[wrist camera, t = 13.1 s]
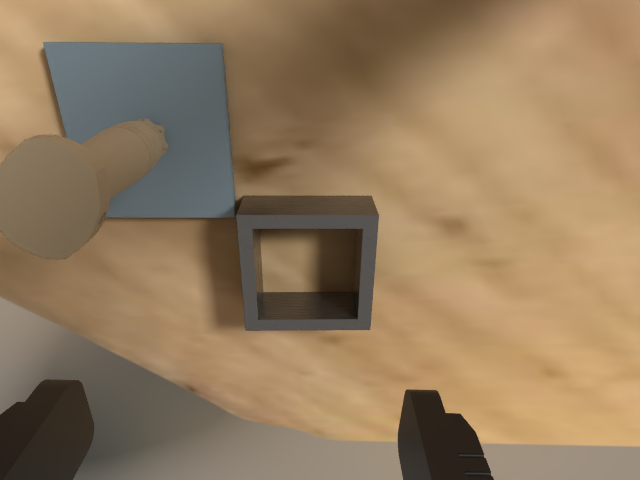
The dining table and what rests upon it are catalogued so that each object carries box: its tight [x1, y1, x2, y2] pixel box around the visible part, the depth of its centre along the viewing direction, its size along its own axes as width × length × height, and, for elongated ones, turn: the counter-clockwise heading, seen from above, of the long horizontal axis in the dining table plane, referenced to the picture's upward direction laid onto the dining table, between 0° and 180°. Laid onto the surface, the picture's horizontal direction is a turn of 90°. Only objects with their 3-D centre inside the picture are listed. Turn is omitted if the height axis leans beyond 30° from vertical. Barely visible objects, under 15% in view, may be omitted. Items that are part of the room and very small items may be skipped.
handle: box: [0, 118, 168, 260], centre depth 28 cm, size 5×6×15 cm
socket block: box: [236, 196, 379, 331], centre depth 39 cm, size 11×11×4 cm
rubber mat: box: [43, 42, 236, 218], centre depth 35 cm, size 14×13×1 cm
